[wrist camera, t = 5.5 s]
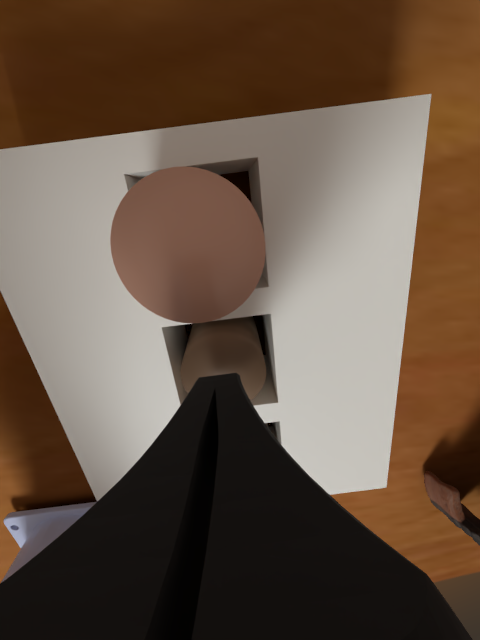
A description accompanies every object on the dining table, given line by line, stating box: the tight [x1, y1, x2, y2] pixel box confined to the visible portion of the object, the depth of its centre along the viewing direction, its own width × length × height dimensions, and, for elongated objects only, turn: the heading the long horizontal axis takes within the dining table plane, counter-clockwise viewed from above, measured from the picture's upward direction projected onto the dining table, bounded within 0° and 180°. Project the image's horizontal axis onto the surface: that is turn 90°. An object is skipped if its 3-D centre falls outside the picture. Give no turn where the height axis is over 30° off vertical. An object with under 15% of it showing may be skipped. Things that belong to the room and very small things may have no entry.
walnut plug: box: [181, 316, 266, 401], centre depth 12 cm, size 3×3×4 cm
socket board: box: [0, 94, 431, 501], centre depth 13 cm, size 16×14×4 cm
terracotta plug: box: [110, 166, 266, 323], centre depth 8 cm, size 3×3×4 cm
